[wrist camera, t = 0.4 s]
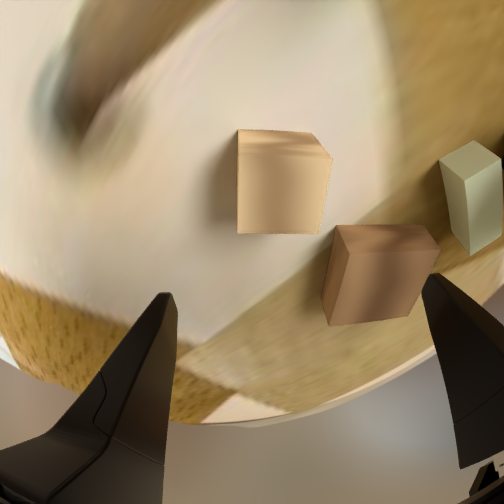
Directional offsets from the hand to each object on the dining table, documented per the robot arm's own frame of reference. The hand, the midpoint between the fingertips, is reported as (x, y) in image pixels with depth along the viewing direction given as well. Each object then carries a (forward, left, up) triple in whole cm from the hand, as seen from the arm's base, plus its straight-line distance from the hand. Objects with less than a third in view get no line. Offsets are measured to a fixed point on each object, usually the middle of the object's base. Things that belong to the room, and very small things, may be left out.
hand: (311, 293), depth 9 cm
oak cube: (0, +1, -13) cm, 13 cm away
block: (-19, +2, -13) cm, 23 cm away
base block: (-11, +11, -13) cm, 20 cm away
